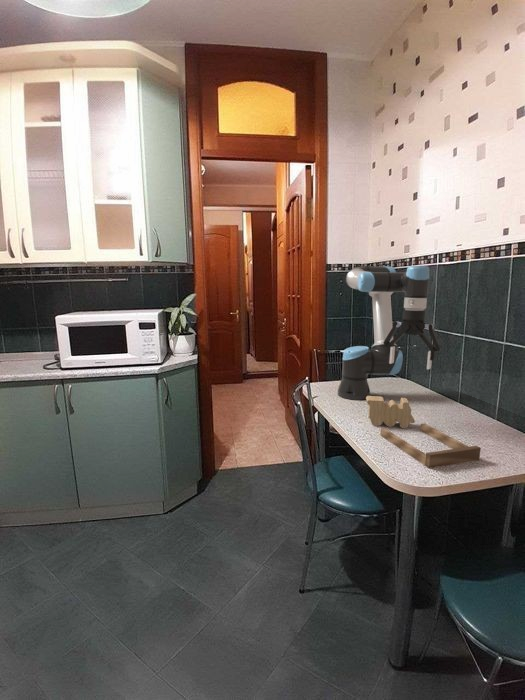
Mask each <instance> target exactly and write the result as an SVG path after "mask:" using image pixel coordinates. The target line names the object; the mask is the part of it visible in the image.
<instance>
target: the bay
mask: <svg viewBox="0 0 525 700" xmlns="http://www.w3.org/2000/svg"><path fill="white" fill-rule="evenodd" d="M419 429H420V430H419V431H420V432H422V433H425V435H428V436H430V437H431V438H433V439H435V440H436V441H439V442H440V443H442V444H443V445H446V446H447V447H449V448H451V449H445V450H436V451H429V452H426V453H425V452H422V450H420V449H418V448H416V447H415V446H414V445H412V444H411V443H409V442H407V441H406V440H404V439H403V438H401V437H399V436H397V435H396V434H394V433H393V432H391V430H388V429H386V427H383V428H381V427H380V432H379V433H380V434H379V435H380V436H381V437H382V438H384V439H385V440H387V441H388V442H390V443H391V444H392V445H394V446H395V447H397V448H398V449H400V450H402V452H404V453H405V454H407V455H409V456H410V457H411V458H413V459H414V460H416V461H417V462H419V463H420V464H422V465H423V466H424V467H426V468H428V469H433V468H438V467H446V466H451V465H459V464H464V463H472V462H477V461H480V457H481V451H482V450H481V447H480V446H478V445H472V446H469V445H467V444H464V443H463V442H462V441H459V440H457V439H455V438H453V437H451V436H450V435H448V434H445V433H444V432H441V431H439V430H438V429H436V428H434V427H432V426H430V425H428V424H426V423H420V428H419Z"/></svg>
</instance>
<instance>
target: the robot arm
mask: <svg viewBox="0 0 525 700" xmlns="http://www.w3.org/2000/svg"><path fill="white" fill-rule="evenodd" d="M429 281H430V267H429V266H427V265H412V266H411V265H410V266H408V267H407V269H406V272H405V271H403V272H402V271H400V272H399V271H396V269H395V268H394V267H393V266H388V265H387V266H386V265H382V266H378V265H377V266H370V265H367V266H364V265H361V266H357V267H354V268H351V269H350V270H349V271H348V272H347V274H346V276H345V282H346V285H347V287H350V289H351V288H352V289H354V290H358V291H360V292H361V293H362V292H365V293H368V295H369V296H370V297H371V298H372V301H371V302H372V318H373V319H372V320H373V339H374V340H373V341H374V343H373V344H372V345H371V348H370V347H369V346H365V345H355V346H351V347H347V348H345V349H344V350H343V353H342V354H343V355H342V370H341V372H342V373H341V379H340V383H339V386H338V389H337V395H338V396H339V397H341V398H343V399H348V400H355V401H358V400H359V401H361V400H366V397H367V396H371V390H370V386H369V382H368V375H379V376H381V375H384V376H385V375H386V376H390V375H397V374H399V372H400V371H401V369H402V365H403V358H404V355H403V352H402V350H400V349H398V345H397V344H396V343H397V342H398V341H399V340H400V339H401V338H402V337H403V336H404V335H406V334H407V335H408V336H409V335H412V336H418V337H420V339H421V340H422V341H423V343H424V344H425V345H426V346H427V348H428V349H429V350H428V351H427V362H426V370H430V369H431V368H432V362H433V361H434V360H435V359H436V353H437V352H440V351H441V350H442V348H443V347H442V345H441V342H440V340H439V338H438V335H437V334H436V331H435V324H434V323H430V324H429V323H428V324H427V323H426V322H425V321H426V310H425V309H427V304H428V303H427V301H428V293H429V291H428V289H429ZM393 293H404V298H403V299H404V300H403V310H402V313H403V314H402V321H399V320H395V321H393V316H392V315H393V314H392V300H391V299H392V297H391V296H392V294H393ZM400 327H401V328H402V330H400V332H399V333H398V334H397V335H396V336H395V337H394V335H395V334H396V332H397V330H398V328H400ZM424 329H426V330H427V331H428V333H429V336H430V338H431V340H432V341H431V340H430V339H429V337H428V336H427V335H426V333H425V331H424ZM432 342H433V343H432Z"/></svg>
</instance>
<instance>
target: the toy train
mask: <svg viewBox="0 0 525 700" xmlns="http://www.w3.org/2000/svg"><path fill="white" fill-rule="evenodd" d="M365 400H366V403H367V405H368V408H367V409H368V410H367V413H368V414H367V415H368V419H369V420H370V422H371V424H372V425H373V426H374V427H378V426H381V425H382V424H383V423H384V424H385V425H386V426H387V427H394V426H395V424H396V423H399V426H400V428H402V429H407V428H408V427H409V424H414V423H415V422H416V420H415V418H414V417H413V415H412V408H411V407H410V403H409V401H408V399H407V398H406V397H401V398H400V403H397V402H396V401H395V400H394V399H391V400H389V402H385V399H384V397H383V396H377V395H375V396H374V395H373V396H372V395H370V396H367V397H366V399H365Z"/></svg>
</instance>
